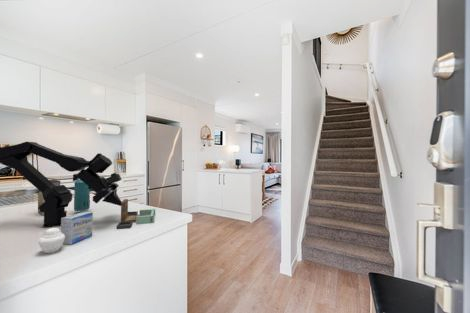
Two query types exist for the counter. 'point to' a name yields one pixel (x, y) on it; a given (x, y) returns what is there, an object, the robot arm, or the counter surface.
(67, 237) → the medicine box
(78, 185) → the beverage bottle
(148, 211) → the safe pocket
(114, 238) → the counter surface
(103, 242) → the counter surface
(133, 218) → the bookend
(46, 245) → the white lidded jar
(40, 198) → the coffee box
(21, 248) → the counter surface
